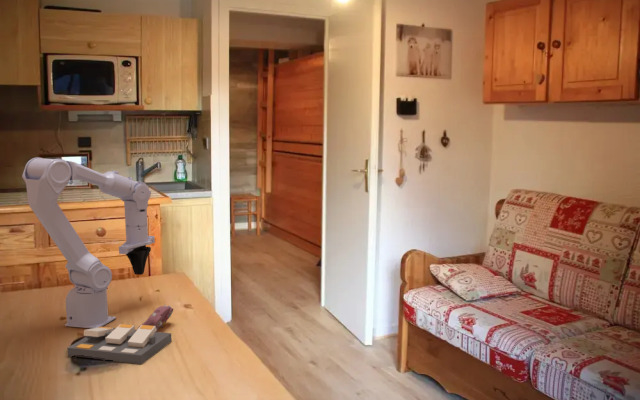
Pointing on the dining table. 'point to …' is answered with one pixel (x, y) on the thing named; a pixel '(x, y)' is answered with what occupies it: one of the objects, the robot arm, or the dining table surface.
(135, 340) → the rocker
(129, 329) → the block
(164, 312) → the video game controller
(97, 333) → the block
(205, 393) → the dining table surface
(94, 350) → the switch unit
